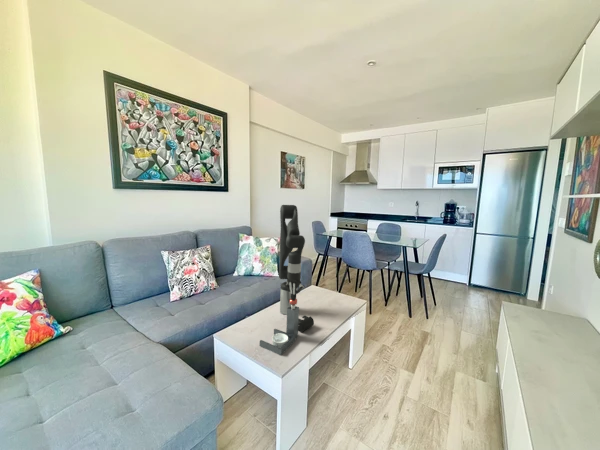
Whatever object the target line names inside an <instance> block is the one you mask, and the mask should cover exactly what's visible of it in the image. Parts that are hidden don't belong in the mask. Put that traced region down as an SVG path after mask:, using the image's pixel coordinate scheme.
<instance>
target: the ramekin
mask: <svg viewBox="0 0 600 450" xmlns="http://www.w3.org/2000/svg"><path fill="white" fill-rule="evenodd" d="M271 341H272V345H275V346H277V347H279V348H281V347H282V346H283V345H284V344H285V343H286V342H287V341H288V336H287V335H285V334H282V333H278V334H273V335H272V336H271Z"/></svg>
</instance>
